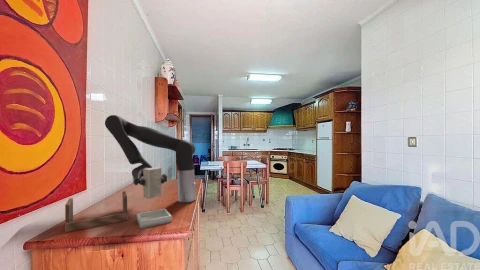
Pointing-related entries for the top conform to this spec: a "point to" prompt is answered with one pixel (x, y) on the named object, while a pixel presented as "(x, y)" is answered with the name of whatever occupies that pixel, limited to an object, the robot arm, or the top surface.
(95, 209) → the top surface
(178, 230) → the top surface
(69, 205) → the two-post stand
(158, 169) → the skincare box
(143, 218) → the dish
